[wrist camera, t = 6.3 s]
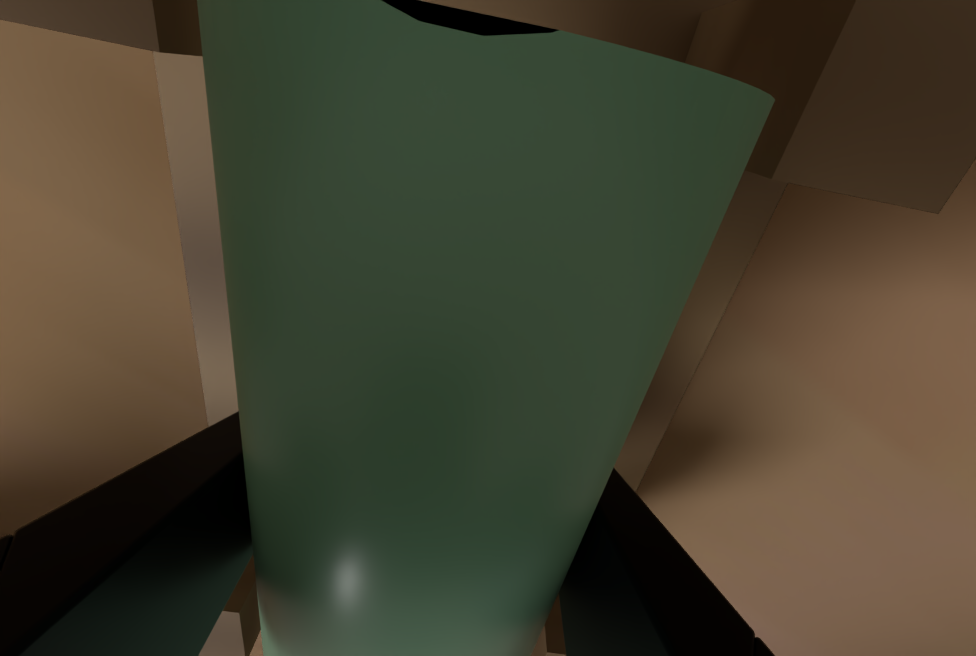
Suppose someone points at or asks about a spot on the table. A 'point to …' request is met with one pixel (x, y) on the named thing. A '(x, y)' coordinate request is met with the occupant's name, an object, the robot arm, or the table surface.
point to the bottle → (446, 300)
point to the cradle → (660, 31)
